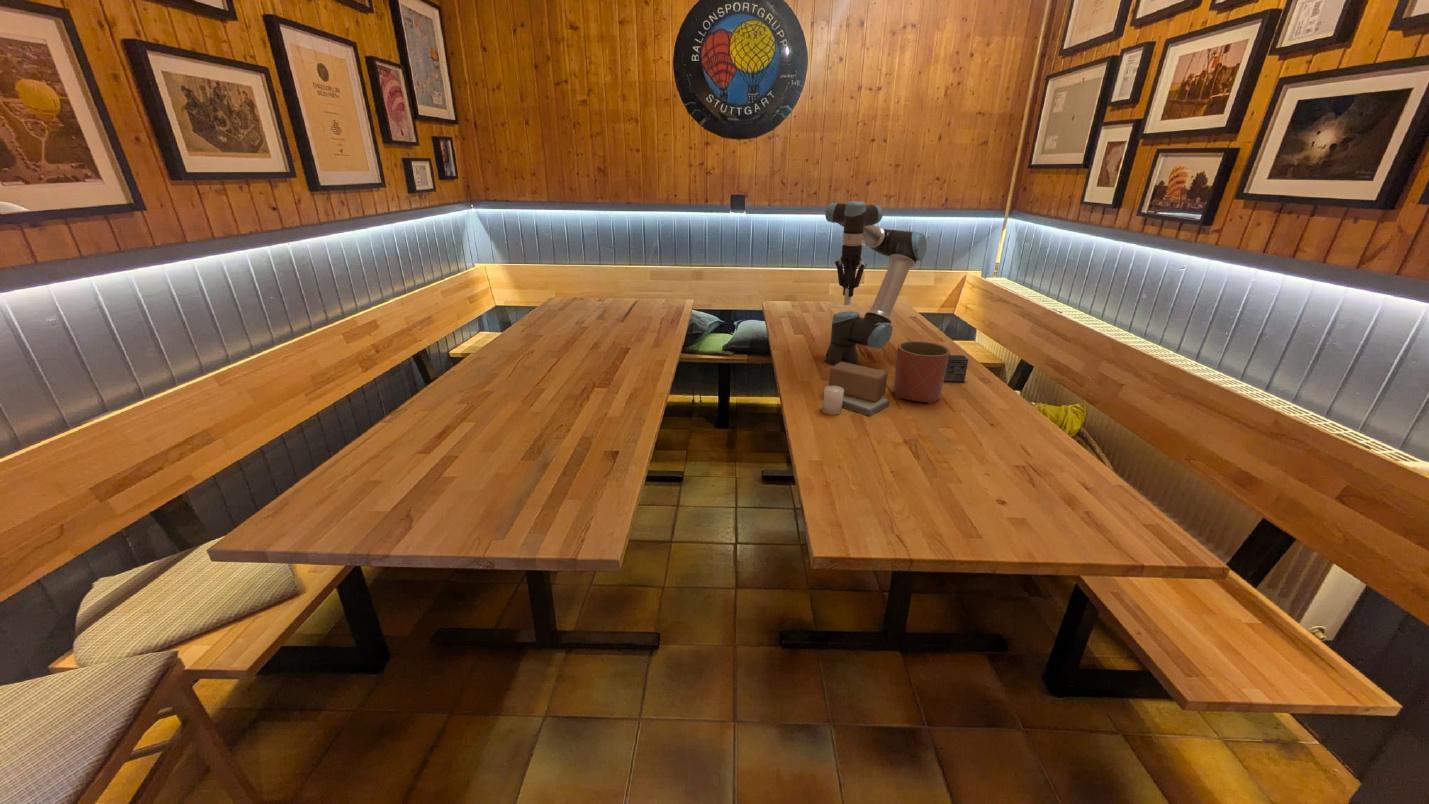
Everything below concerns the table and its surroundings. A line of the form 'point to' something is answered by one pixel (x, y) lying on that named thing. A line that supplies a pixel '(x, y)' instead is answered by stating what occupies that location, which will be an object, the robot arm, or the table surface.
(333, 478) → the table surface
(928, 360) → the planter
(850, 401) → the grey rectangular slab
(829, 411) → the white rounded cylinder
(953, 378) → the small box
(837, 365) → the wooden block
